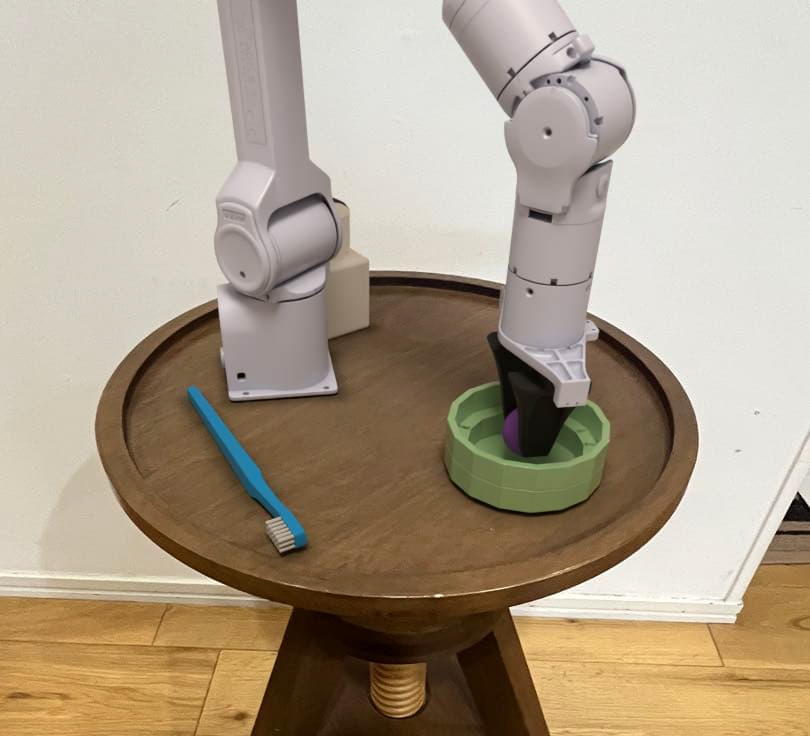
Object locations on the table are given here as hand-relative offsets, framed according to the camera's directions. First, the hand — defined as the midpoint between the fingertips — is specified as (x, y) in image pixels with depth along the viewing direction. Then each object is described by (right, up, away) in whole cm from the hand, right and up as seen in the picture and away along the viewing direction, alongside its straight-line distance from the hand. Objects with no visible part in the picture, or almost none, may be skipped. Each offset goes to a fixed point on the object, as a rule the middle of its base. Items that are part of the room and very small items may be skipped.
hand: (526, 438), depth 66 cm
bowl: (0, -2, +2) cm, 3 cm away
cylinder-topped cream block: (-18, +14, +20) cm, 30 cm away
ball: (0, +1, 0) cm, 1 cm away
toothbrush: (-21, -1, +1) cm, 22 cm away
